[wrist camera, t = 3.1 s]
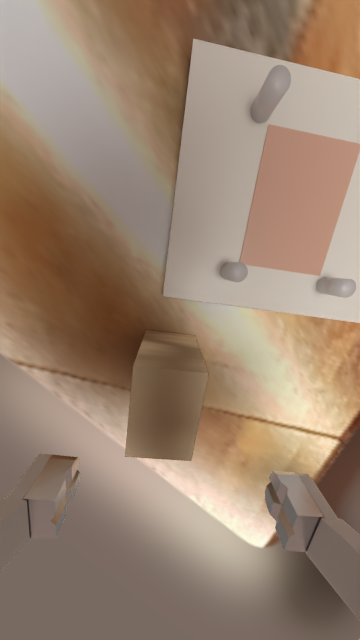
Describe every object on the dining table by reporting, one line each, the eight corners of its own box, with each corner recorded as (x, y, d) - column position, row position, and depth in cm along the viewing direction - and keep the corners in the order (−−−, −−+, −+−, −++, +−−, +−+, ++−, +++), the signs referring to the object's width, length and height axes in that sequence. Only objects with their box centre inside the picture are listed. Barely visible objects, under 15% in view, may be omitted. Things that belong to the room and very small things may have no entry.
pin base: (162, 294, 15) (161, 301, 12) (191, 57, 12) (198, -11, 9) (354, 320, 17) (393, 331, 14) (433, 114, 13) (509, 71, 10)
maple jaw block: (139, 393, 18) (124, 456, 12) (146, 329, 16) (133, 365, 10) (184, 397, 18) (191, 460, 12) (195, 335, 16) (208, 373, 11)
